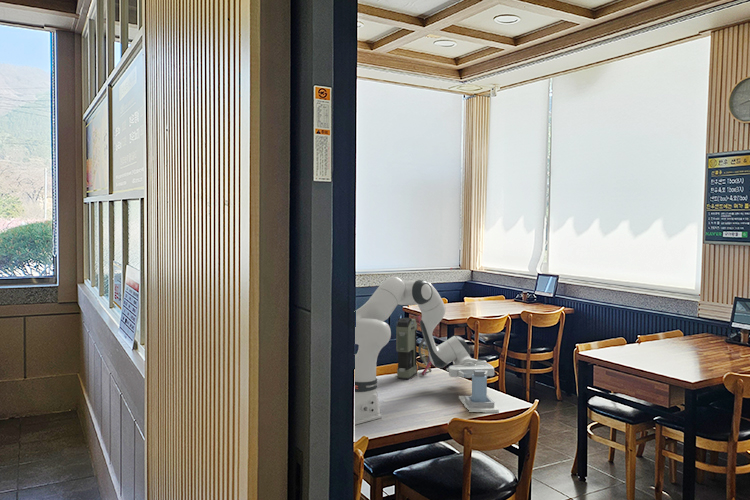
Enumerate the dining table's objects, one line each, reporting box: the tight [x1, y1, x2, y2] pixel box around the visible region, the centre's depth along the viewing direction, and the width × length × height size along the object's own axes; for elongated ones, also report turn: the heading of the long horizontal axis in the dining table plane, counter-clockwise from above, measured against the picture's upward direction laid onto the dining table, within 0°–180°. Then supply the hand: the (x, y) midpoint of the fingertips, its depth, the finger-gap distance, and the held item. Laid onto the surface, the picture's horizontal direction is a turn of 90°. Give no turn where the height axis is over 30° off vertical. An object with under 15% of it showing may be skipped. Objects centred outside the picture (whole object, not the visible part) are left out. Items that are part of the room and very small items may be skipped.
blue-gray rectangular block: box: [471, 370, 488, 402], centre depth 240 cm, size 5×5×14 cm
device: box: [395, 317, 419, 381], centre depth 289 cm, size 14×8×30 cm, turn 156°
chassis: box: [458, 395, 500, 414], centre depth 242 cm, size 20×12×3 cm, turn 4°
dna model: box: [417, 315, 432, 376], centre depth 296 cm, size 9×9×30 cm
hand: (475, 375), depth 248 cm, fingers open, 8 cm apart
